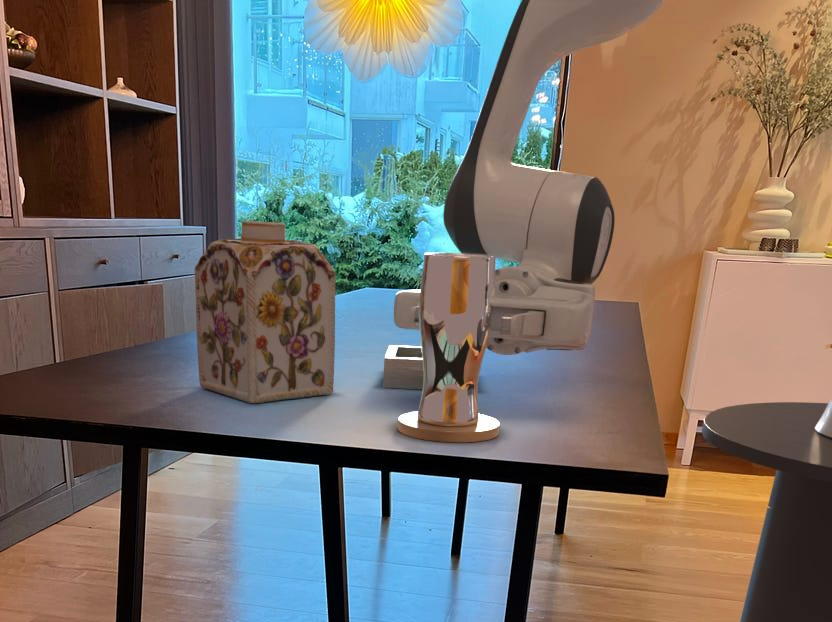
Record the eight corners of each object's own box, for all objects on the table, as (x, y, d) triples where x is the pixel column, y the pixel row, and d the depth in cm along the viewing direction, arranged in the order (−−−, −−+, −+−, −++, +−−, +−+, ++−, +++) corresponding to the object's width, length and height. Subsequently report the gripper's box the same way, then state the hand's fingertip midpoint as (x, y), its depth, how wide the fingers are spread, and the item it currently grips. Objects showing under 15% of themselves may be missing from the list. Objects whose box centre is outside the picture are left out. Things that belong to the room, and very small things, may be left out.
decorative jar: (196, 387, 105) (189, 218, 97) (278, 379, 112) (277, 220, 104) (252, 405, 97) (248, 222, 89) (337, 395, 103) (340, 223, 96)
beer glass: (463, 431, 84) (477, 257, 77) (399, 420, 87) (408, 253, 81) (494, 419, 89) (510, 255, 83) (433, 409, 93) (444, 251, 86)
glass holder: (474, 376, 118) (476, 348, 117) (477, 392, 108) (479, 362, 106) (387, 372, 119) (389, 345, 117) (383, 387, 109) (384, 357, 107)
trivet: (495, 422, 93) (496, 412, 92) (501, 444, 84) (502, 434, 83) (399, 417, 93) (400, 408, 93) (395, 439, 84) (395, 429, 84)
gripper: (427, 273, 99) (366, 279, 88) (611, 285, 90) (568, 293, 79) (423, 332, 102) (364, 345, 91) (601, 350, 93) (559, 367, 82)
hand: (461, 321), depth 85 cm, fingers open, 8 cm apart
